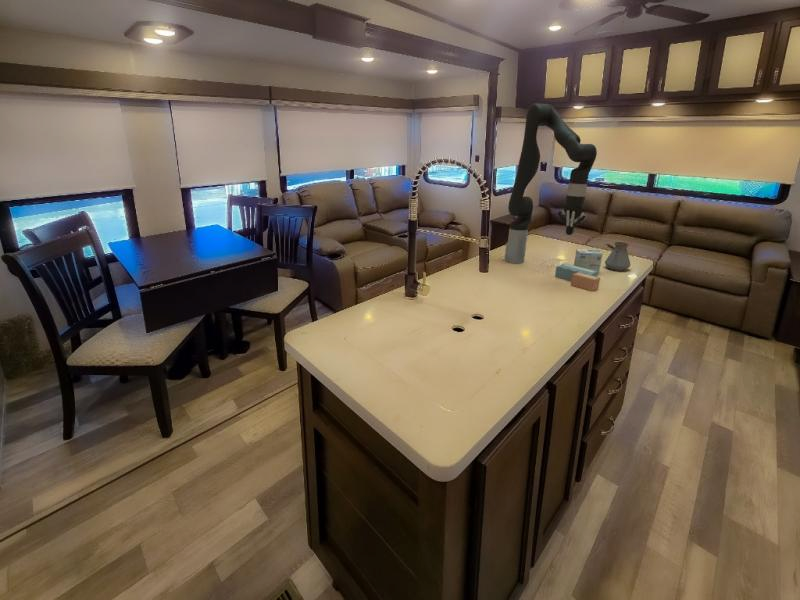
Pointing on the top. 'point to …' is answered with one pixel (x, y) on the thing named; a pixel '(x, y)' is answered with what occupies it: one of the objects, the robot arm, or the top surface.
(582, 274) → the orange labelled box
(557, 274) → the blue labelled box
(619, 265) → the coffee pot
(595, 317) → the top surface
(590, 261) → the light bulb box
